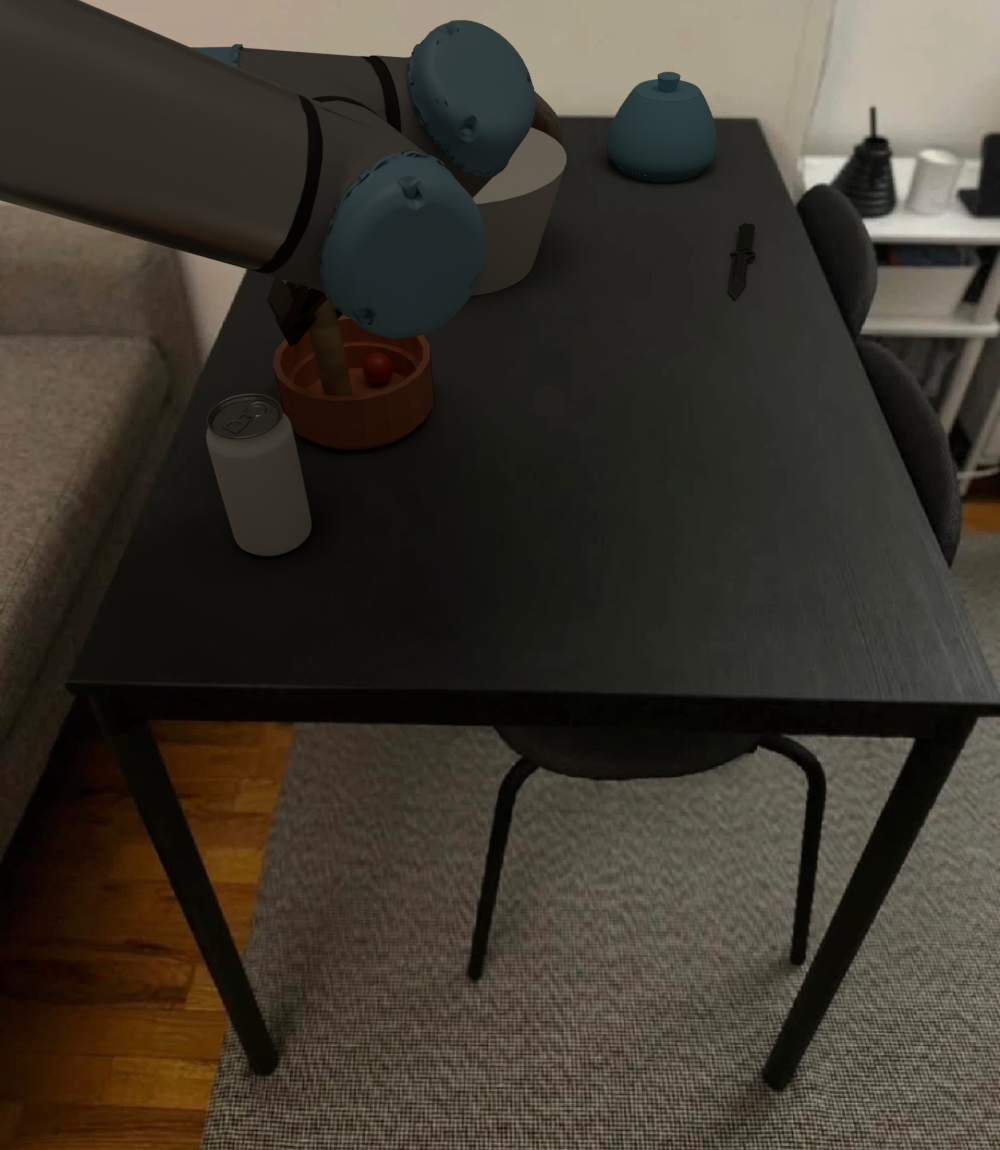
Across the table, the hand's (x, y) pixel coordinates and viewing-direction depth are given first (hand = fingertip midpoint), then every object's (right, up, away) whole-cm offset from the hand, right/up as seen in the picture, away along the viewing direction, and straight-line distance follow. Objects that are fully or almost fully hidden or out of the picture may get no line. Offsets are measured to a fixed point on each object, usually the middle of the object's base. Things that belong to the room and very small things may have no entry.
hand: (302, 325), depth 85 cm
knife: (+47, +14, +25) cm, 55 cm away
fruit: (+22, +34, +45) cm, 61 cm away
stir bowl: (+4, -7, +6) cm, 10 cm away
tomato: (+6, -2, +6) cm, 9 cm away
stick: (+3, -8, +2) cm, 9 cm away
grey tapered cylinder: (+14, +15, +27) cm, 33 cm away
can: (-1, -19, -7) cm, 20 cm away
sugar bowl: (+40, +35, +46) cm, 70 cm away
